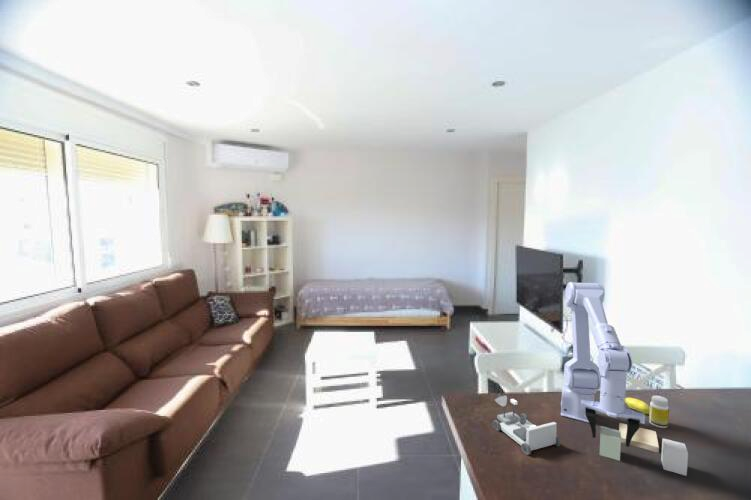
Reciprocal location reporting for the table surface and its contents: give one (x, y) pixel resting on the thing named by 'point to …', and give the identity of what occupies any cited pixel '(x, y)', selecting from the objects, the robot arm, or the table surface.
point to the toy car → (525, 429)
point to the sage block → (610, 443)
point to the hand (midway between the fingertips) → (610, 440)
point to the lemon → (637, 405)
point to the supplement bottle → (659, 412)
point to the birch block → (641, 438)
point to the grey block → (674, 456)
